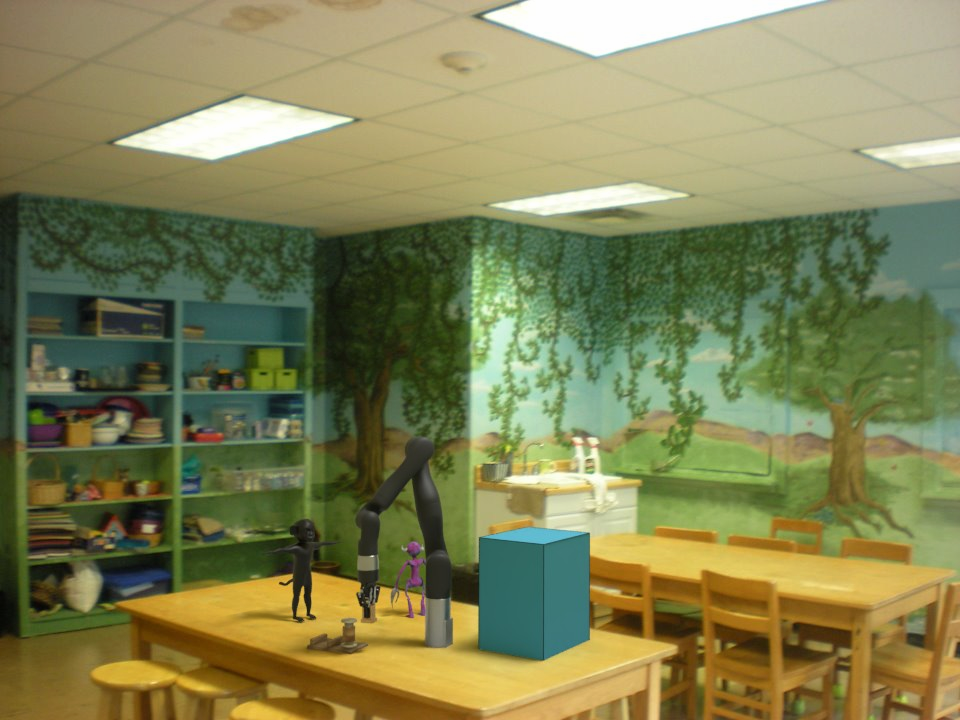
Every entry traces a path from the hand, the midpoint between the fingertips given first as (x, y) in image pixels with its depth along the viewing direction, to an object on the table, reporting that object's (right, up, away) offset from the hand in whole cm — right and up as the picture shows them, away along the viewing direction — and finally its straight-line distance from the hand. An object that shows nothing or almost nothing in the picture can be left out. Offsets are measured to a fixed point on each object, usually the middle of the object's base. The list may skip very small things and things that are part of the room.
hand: (369, 617), depth 344 cm
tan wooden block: (0, -2, 0) cm, 2 cm away
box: (+59, -13, +9) cm, 61 cm away
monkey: (-36, -14, +52) cm, 64 cm away
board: (-12, -12, +5) cm, 18 cm away
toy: (+12, -14, +56) cm, 59 cm away
